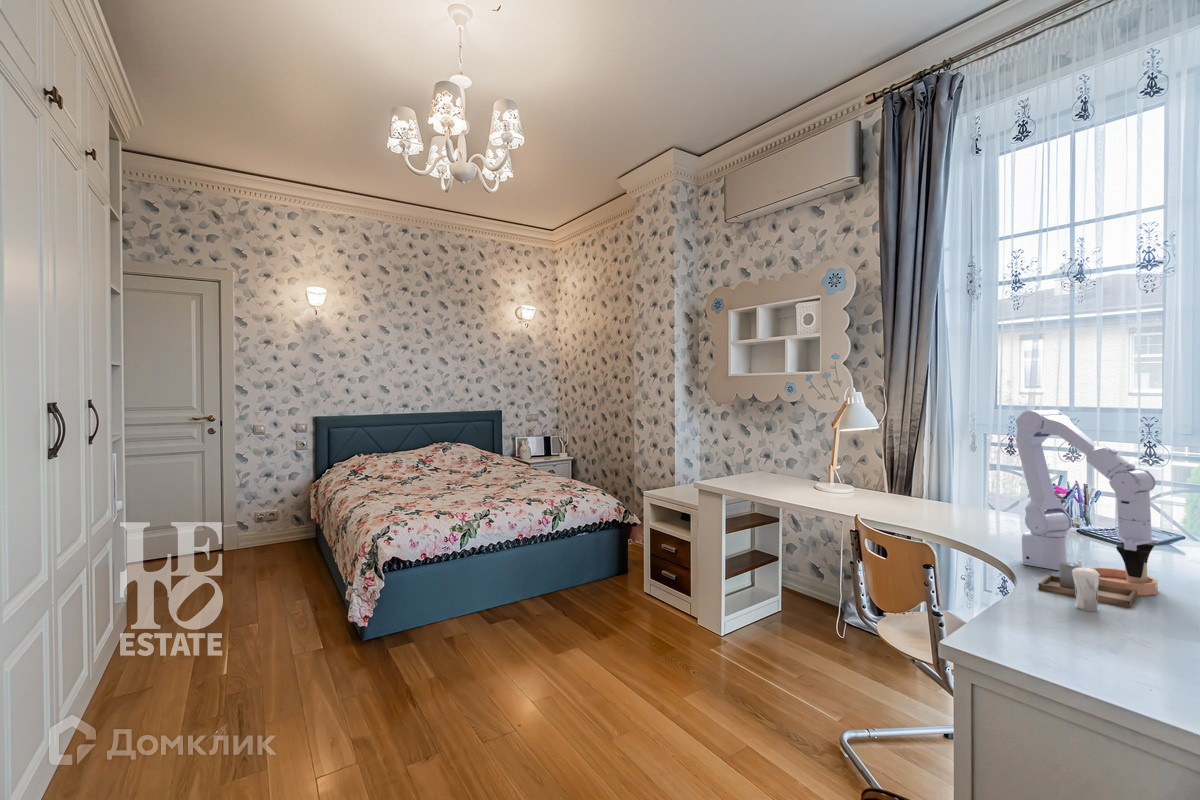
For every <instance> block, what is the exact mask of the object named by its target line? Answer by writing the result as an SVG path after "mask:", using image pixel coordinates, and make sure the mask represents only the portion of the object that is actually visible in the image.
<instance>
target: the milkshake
mask: <svg viewBox="0 0 1200 800" xmlns="http://www.w3.org/2000/svg"><path fill="white" fill-rule="evenodd" d="M1077 562H1078V565H1079V568H1074V569H1073V570H1072V575H1073V580H1074V587H1075V594H1076V597H1075V600H1076V607H1077V608H1078V610H1082V611H1084V612H1085V611H1086V612H1095V613H1096V612H1098V608H1099V607H1098V605H1099V602H1098V588H1099V576H1100V574H1099V573H1098V572H1097V571H1096V570H1095V569H1089V568H1090V567H1083V565H1082V560H1079V559H1078V560H1077Z"/></svg>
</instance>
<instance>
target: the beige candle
mask: <svg viewBox="0 0 1200 800" xmlns="http://www.w3.org/2000/svg"><path fill="white" fill-rule="evenodd" d="M1147 564H1148V562H1147V563H1146V562H1144V567H1143V573H1142V576H1141V578H1137V577H1131V576H1129V575H1128V573H1127V570H1126V567H1125V566H1124V570H1125V575H1126V583H1139V584H1141V583H1148V576H1149V575H1148V565H1147ZM1147 575H1148V576H1147Z"/></svg>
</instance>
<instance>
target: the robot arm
mask: <svg viewBox="0 0 1200 800" xmlns="http://www.w3.org/2000/svg"><path fill="white" fill-rule="evenodd" d="M1015 424H1016V427H1017V430H1016V435H1015V436H1016V437H1015V441H1016V447H1017V450H1018V454H1019V457H1020V462H1021V465H1022V470H1023V475H1024V478H1025V482H1026V486H1027V489H1028V493H1029V497H1030V501H1029V503H1028V504H1027V505H1026V506H1025V507H1024V510H1025V518H1024V523H1025V526H1026V528H1027V529H1028V530H1029V531H1024V532H1023V533H1022V535H1021V552H1022V553H1021V555H1022V562H1021V564H1022V565H1025V566H1026V565H1027V566H1030V567H1031V566H1032V567H1037V568H1042V569H1043V568H1044V569H1050V570H1055V571H1059V563H1060V562H1068V554H1067V550H1068V549H1067V535H1068V531H1070V530H1071V528H1072V527H1073V520H1072V517H1071V516H1070V514H1069V513H1068V512H1067V509H1066V507H1065V505H1064V504H1063V503H1062V502H1061V501H1059V500H1058V499H1057V498H1056V495H1055V491H1054V487H1053V483H1052V479H1051V477H1050V471H1049V468H1048V465H1047V460H1046V456H1045V454H1044V453H1045V452H1044V449H1043V446H1042V445H1043V443H1044V442H1045V440H1047V439H1048V438H1049V437H1050V436H1052V435H1053V436H1057V437H1058V436H1059V437H1060V438H1062V439H1063V440H1065V442H1067V443H1069V444H1070V445H1071V446H1073V447H1074V448H1076V449H1077V450H1078V451H1079V452H1081V453H1083V454H1085V456H1086V457H1085V459H1086V460H1085V461H1086V462H1087V463H1088V464H1089V465H1090V466H1092V467H1093V468H1094V469H1095V470H1096V471H1098V472H1099V473H1100V474H1101V475H1102V476H1104V477H1105V478H1106V479H1108V480H1109V481H1108V482H1109V486H1110V487H1111V489H1112V490H1113V491H1114V493H1115V498H1116V508H1117V509H1116V510H1117V511H1116V512H1117V528H1118V529H1117V530H1118V534H1117V536H1116V537H1117V540H1119V541H1120V542H1121V545H1119V544H1117V545H1116V550H1117V551H1116V552H1118V553H1119V555H1120V557H1121V558H1122V560H1123V563H1124V568H1125V567H1126V570H1127V573H1128V575H1129V576H1131V577H1137V578H1141V576H1142V573H1143V567H1144V562H1146V563H1147V564H1148V560H1149V556H1150V555H1151V552H1152V550H1153V549H1154V547H1155V544H1158V543H1160V539H1159V538H1153V535H1152V517H1151V514H1152V513H1151V496H1150V495H1151V493H1150V492H1151V491H1153V489H1154V488H1155V487H1156V479H1155V477H1154V476H1153V475H1152V474H1151V473H1150V472H1149V470H1147V469H1143V468H1136V465H1135V464H1133V463H1129V462H1128V461H1127V460H1126V459H1125V458H1124V457H1122V456H1121V455H1119V454H1118V452H1119V451H1117V449H1115V448H1110V447H1107V446H1099V445H1098V444H1097V443H1095V442H1094V441H1093V439H1091V438H1089V437H1088V436H1087V435H1086V434H1085V433H1084V432H1083V431H1082V430H1081V429H1079V428H1078V427H1077V426H1076V425H1075V424H1074V423H1073V422H1071V419H1070V417H1068V416H1066V415H1064V414H1063V413H1062V411H1060V410H1057V409H1047V410H1046V409H1042V410H1032V409H1030V410H1025V411H1023V412H1022V413H1021V414H1020V415H1019V416H1018V417H1017V418H1016V419H1015Z"/></svg>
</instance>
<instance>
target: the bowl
mask: <svg viewBox="0 0 1200 800" xmlns="http://www.w3.org/2000/svg"><path fill="white" fill-rule="evenodd" d="M1088 568H1089V569H1095V570H1096V571H1097V572H1098V573H1099V574H1100V576H1099V584H1103V585H1108V586H1114V587H1119V588H1125V589H1130V590H1136V591H1137V596H1142V597H1143V596H1153V595H1157V594H1158V592H1159V587H1158V586H1159V583H1158V579H1156V578H1155V577H1152V576H1150V575H1148V574H1147V576H1148V583H1141V584H1139V583H1126V575H1125V569H1118V568H1112V567H1099V566H1097V567H1088Z"/></svg>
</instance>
